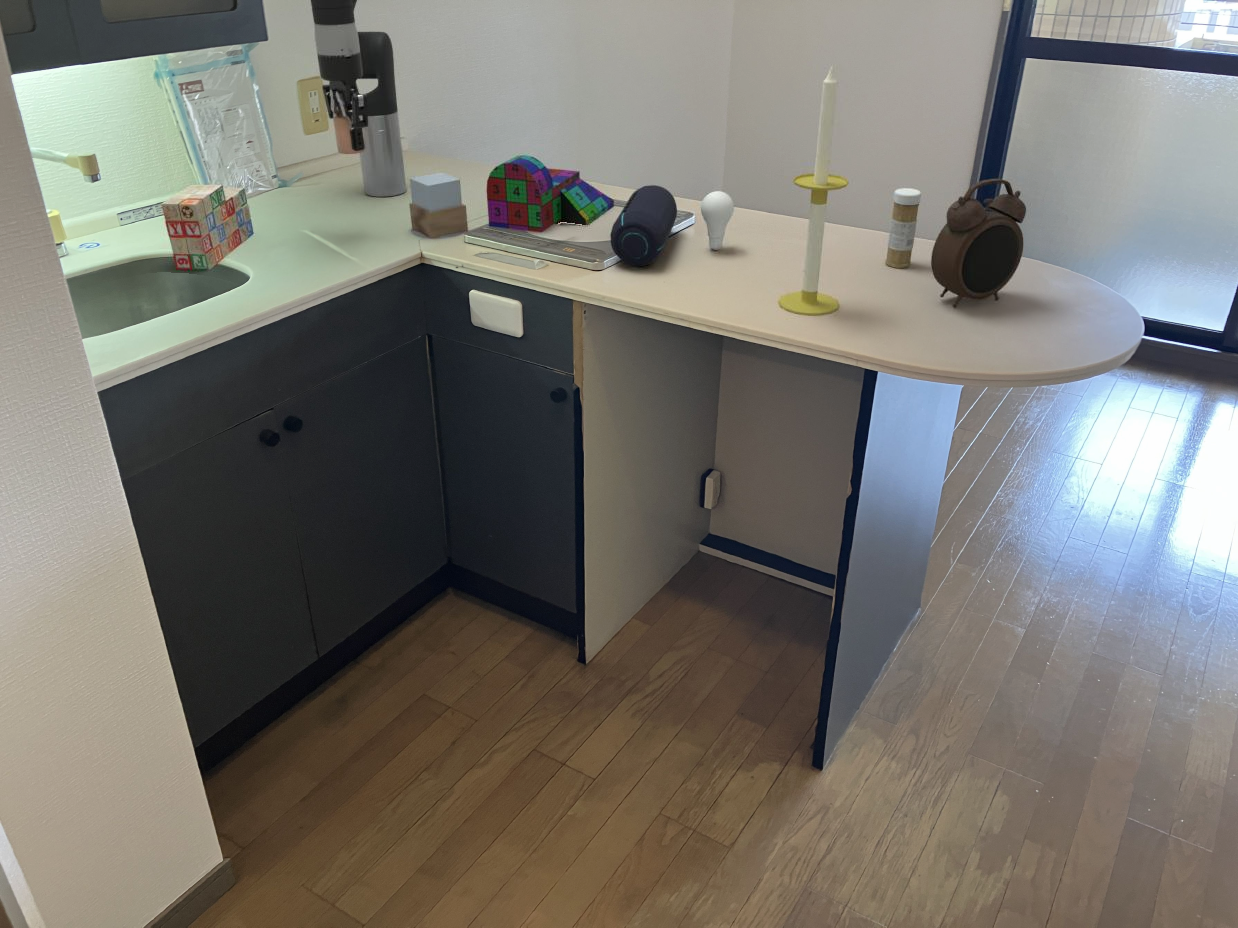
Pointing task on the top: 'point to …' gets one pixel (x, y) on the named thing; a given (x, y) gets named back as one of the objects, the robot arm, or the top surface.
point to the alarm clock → (979, 244)
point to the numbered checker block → (540, 196)
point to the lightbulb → (717, 216)
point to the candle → (817, 212)
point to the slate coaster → (437, 237)
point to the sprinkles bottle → (903, 227)
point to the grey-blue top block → (436, 192)
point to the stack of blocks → (206, 224)
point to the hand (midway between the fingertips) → (351, 146)
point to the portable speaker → (644, 225)
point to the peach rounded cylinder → (344, 136)
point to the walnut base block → (439, 221)
